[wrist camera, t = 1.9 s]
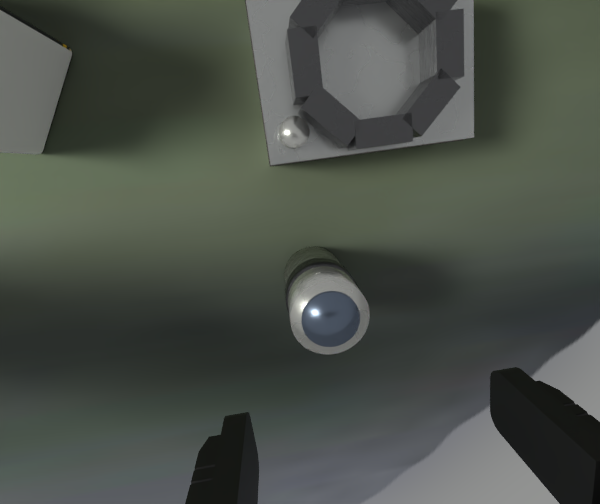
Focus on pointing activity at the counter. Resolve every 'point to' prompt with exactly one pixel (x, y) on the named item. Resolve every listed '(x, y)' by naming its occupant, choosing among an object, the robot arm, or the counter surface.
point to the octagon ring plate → (362, 75)
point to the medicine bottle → (28, 83)
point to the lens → (324, 302)
